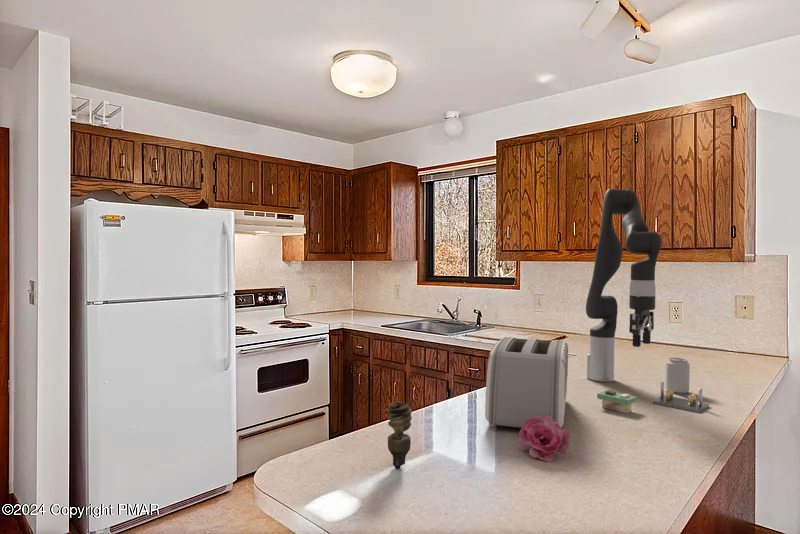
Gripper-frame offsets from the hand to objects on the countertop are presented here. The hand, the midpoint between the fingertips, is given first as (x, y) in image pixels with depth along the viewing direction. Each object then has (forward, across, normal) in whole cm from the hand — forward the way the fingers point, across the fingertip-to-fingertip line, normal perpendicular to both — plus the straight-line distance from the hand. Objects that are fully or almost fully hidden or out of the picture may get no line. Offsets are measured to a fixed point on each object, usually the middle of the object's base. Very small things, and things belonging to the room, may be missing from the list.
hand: (641, 345), depth 167 cm
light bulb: (+21, +89, -21) cm, 94 cm away
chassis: (+20, -14, +8) cm, 26 cm away
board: (+17, +6, -5) cm, 19 cm away
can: (+20, -32, +1) cm, 38 cm away
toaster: (+21, +29, -23) cm, 42 cm away
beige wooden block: (+20, +6, -5) cm, 22 cm away
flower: (+21, +58, -2) cm, 62 cm away
